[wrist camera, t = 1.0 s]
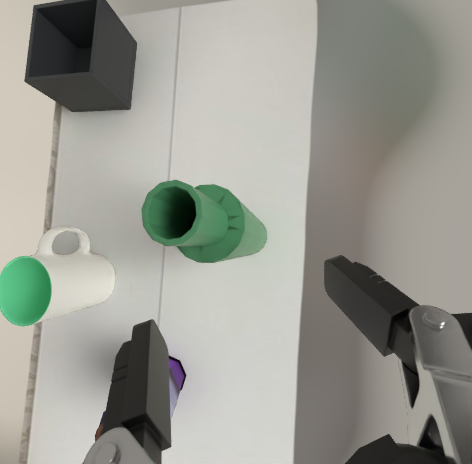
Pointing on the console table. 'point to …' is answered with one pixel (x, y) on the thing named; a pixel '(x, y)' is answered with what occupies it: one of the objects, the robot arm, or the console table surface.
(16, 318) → the mug
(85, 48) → the bin
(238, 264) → the console table surface
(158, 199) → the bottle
